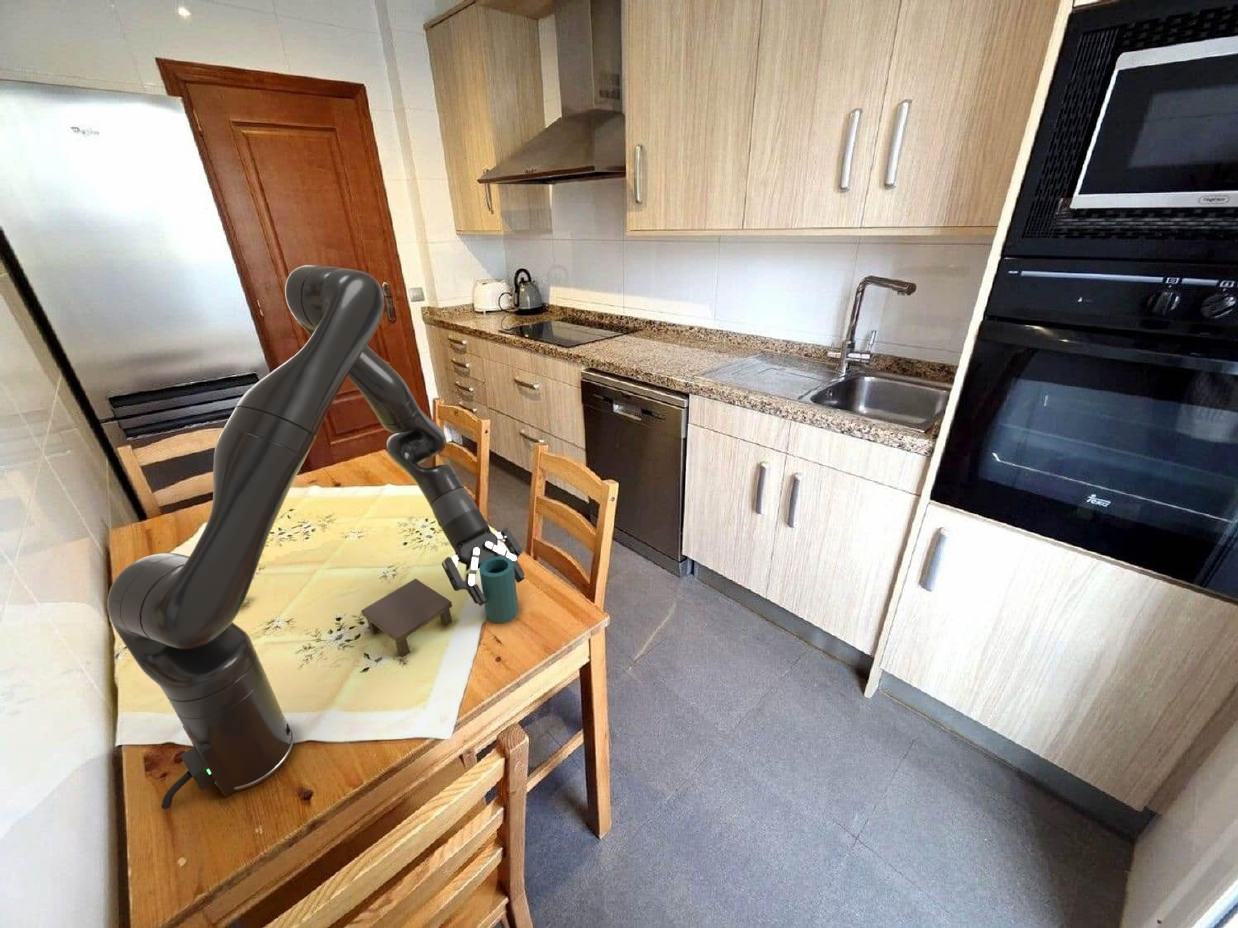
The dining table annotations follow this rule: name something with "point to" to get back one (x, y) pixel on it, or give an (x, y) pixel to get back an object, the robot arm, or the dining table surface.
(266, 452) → the robot arm
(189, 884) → the dining table surface
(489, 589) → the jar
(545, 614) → the dining table surface
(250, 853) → the dining table surface
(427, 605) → the stand
